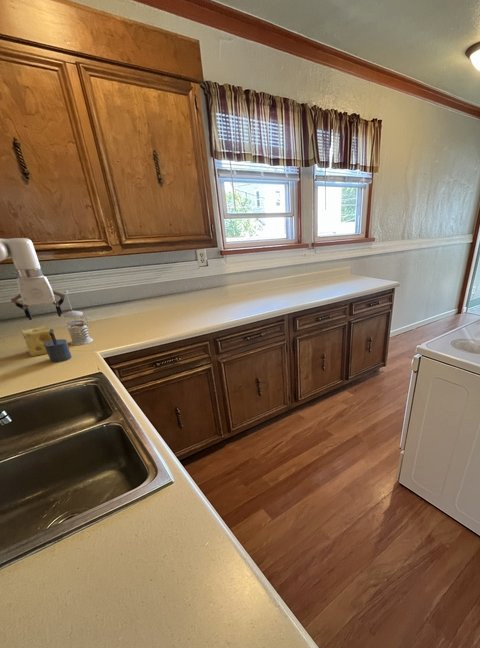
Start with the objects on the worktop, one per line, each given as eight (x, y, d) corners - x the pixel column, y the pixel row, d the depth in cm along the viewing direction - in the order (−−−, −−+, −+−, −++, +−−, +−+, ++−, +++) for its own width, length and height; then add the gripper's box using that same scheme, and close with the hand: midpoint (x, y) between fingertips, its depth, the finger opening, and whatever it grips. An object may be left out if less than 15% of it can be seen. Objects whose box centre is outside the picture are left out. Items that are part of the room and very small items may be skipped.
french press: (65, 343, 159) (47, 291, 147) (86, 336, 168) (71, 286, 157) (80, 346, 156) (62, 293, 144) (100, 338, 165) (86, 288, 154)
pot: (50, 364, 136) (44, 348, 132) (51, 358, 142) (45, 342, 138) (72, 361, 140) (66, 344, 136) (71, 355, 145) (66, 339, 142)
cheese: (31, 357, 143) (22, 335, 139) (28, 350, 150) (20, 329, 146) (59, 351, 149) (51, 330, 145) (55, 345, 157) (48, 325, 152)
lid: (43, 349, 132) (38, 335, 130) (44, 343, 138) (39, 330, 136) (67, 346, 136) (62, 331, 133) (67, 340, 142) (62, 326, 140)
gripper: (-1, 276, 117) (17, 322, 125) (57, 273, 126) (71, 316, 133) (2, 273, 123) (19, 318, 131) (57, 270, 131) (70, 312, 139)
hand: (45, 317), depth 132 cm, fingers open, 9 cm apart
